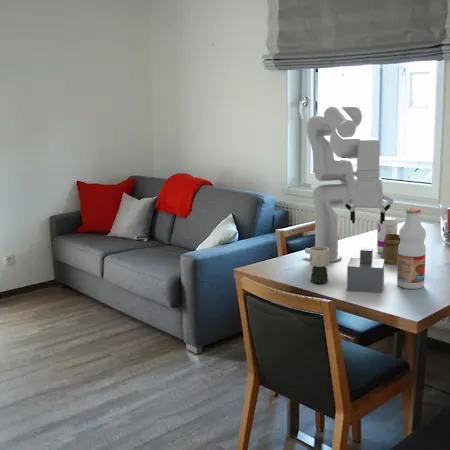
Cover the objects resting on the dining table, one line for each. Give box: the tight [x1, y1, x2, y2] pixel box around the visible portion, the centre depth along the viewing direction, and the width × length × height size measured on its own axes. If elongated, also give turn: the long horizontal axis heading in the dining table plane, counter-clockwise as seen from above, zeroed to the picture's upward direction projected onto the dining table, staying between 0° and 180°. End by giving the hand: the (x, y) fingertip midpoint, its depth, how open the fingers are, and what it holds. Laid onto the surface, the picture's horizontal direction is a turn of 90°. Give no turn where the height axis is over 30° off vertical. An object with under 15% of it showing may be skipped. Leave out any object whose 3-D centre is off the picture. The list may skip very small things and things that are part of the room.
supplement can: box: [376, 216, 398, 254], centre depth 263 cm, size 8×8×15 cm
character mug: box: [309, 245, 330, 284], centre depth 224 cm, size 11×7×13 cm, turn 156°
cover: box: [346, 247, 385, 294], centre depth 217 cm, size 12×12×14 cm
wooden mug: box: [380, 233, 400, 265], centre depth 246 cm, size 9×14×18 cm, turn 60°
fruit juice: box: [396, 207, 427, 290], centre depth 215 cm, size 9×9×28 cm
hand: (367, 222), depth 213 cm, fingers open, 9 cm apart
